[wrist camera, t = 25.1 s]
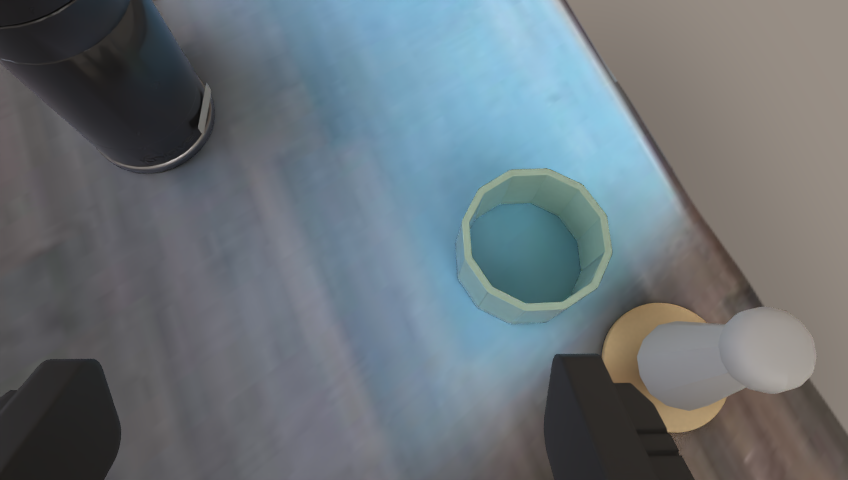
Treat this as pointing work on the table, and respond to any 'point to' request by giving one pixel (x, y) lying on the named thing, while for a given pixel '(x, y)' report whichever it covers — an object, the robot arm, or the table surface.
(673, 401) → the salt shaker
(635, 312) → the coaster
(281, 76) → the table surface
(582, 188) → the cup
